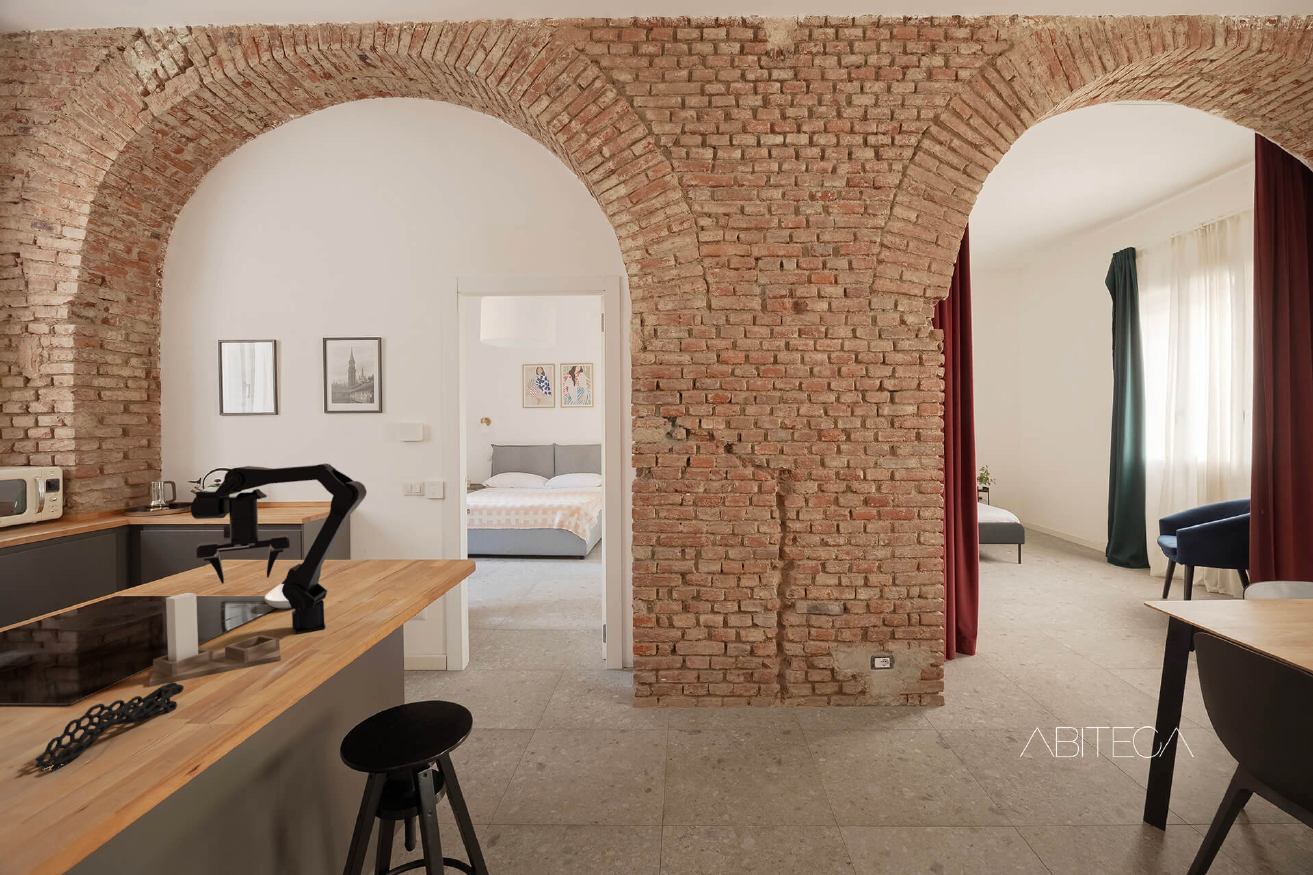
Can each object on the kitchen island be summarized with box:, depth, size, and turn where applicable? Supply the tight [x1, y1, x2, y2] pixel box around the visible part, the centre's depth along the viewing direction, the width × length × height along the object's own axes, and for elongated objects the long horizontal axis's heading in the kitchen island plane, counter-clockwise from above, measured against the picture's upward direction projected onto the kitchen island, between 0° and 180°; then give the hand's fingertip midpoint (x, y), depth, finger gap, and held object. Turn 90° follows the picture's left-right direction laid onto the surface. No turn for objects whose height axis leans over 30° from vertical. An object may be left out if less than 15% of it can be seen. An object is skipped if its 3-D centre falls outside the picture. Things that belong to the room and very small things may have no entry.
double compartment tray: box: [149, 634, 282, 687], centre depth 129 cm, size 22×10×4 cm, turn 124°
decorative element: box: [34, 681, 184, 771], centre depth 101 cm, size 22×5×6 cm, turn 175°
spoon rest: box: [264, 582, 292, 610], centre depth 176 cm, size 24×12×7 cm, turn 18°
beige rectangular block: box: [165, 592, 199, 662], centre depth 126 cm, size 4×3×15 cm
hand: (245, 580), depth 149 cm, fingers open, 9 cm apart
